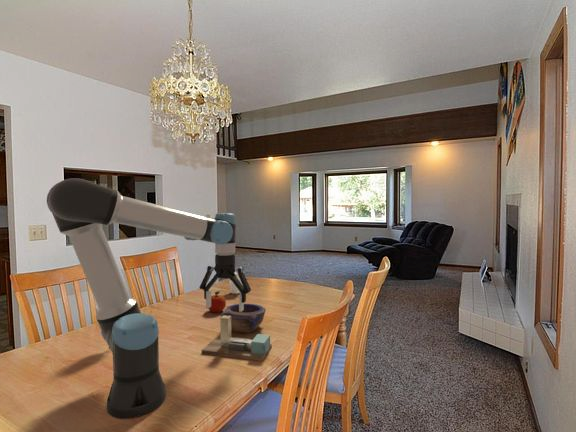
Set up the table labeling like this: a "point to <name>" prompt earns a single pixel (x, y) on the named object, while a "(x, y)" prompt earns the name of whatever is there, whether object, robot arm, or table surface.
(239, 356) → the rail base
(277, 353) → the table surface
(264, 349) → the socket block
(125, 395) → the robot arm
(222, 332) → the slide bar
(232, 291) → the cup
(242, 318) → the bowl
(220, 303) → the fruit
